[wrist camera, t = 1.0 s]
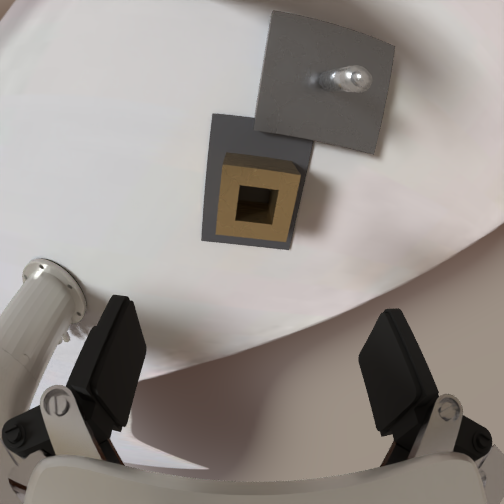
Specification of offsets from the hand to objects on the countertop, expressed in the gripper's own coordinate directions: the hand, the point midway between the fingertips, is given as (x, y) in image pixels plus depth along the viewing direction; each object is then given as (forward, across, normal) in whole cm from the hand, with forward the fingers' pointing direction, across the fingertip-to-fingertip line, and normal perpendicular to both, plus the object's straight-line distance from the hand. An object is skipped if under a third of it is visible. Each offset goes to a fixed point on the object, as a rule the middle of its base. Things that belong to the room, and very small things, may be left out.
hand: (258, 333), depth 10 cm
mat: (+21, 0, +2) cm, 21 cm away
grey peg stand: (+21, -6, -10) cm, 24 cm away
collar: (+20, 0, +2) cm, 21 cm away
